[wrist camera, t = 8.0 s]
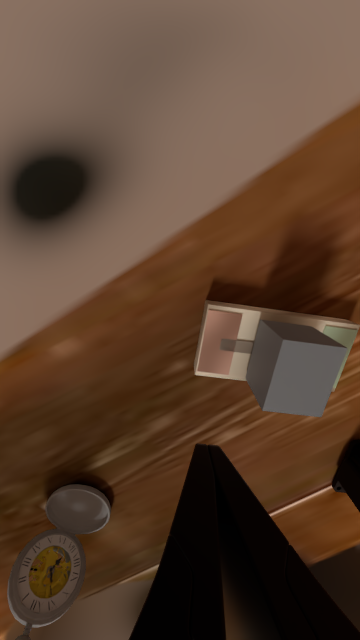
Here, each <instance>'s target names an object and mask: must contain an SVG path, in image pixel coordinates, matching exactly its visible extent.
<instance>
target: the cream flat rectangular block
mask: <svg viewBox="0 0 360 640" xmlns="http://www.w3.org/2000/svg"><path fill="white" fill-rule="evenodd" d="M260 319H261V320H269V321H276V322H283V323H291V324H298V325H306V326H312V327H314V328H315V329H317V330H319V331H320V332H322V333H324V334H325V335H327V336H328V337H330V338H332V339H333V340H335V341H337V342H338V343H340V344H342V345H343V346H345V347H347V348H348V349H347V352H346V354H345V357H344V359H343V362H342V365H341V367H340V370H339V372H338V375H337V378H336V380H335V383H334V385H333V388H332V391H335V388H336V386H337V383H338V381H339V378H340V375H341V373H342V370H343V368H344V365H345V363H346V360H347V357H348V355H349V352H350V350H351V347H352V345H353V342H354V340H355V337H356V334H357V332H358V329H359V327H360V325H358V324H356V323H354V322H351V321H349V320H347V319H339V318H332V317H325V316H318V315H311V314H303V313H296V312H289V311H282V310H275V309H267V308H260V307H253V306H246V305H239V304H231V303H224V302H217V301H210V300H206V302H205V307H204V313H203V318H202V324H201V329H200V335H199V340H198V346H197V351H196V357H195V362H194V370H195V375H201V376H209V377H218V378H226V379H234V380H243V381H247V380H246V378H245V377H246V373H247V369H248V365H249V361H250V358H251V354H252V350H253V346H254V342H255V338H256V334H257V330H258V326H259V322H260Z"/></svg>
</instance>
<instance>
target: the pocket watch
mask: <svg viewBox="0 0 360 640" xmlns="http://www.w3.org/2000/svg"><path fill="white" fill-rule="evenodd" d="M45 511H46V515H47V517H48V519H49V520H50V522H51V523H53V524H54V525H55V526H56V529H52V530H47V531H45V532H43V533H41V534H39V535H37V536H36V537H34V538H33V539H32V540H31V541H30V542H29V543H28V544H27V545H26V546H25V547H24V549H23V550H22V551H21V552H20V554H19V555H18V557H17V559H16V561H15V563H14V565H13V567H12V571H11V574H10V577H9V580H8V592H7V595H8V603H9V606H10V610H11V612H12V614H13V615H14V617H15V619H17V620H18V621H19V622H20V623H22V624H23V625H25V630H24V632H23V635H20V636H18V637H17V638H16V639H15V640H30V637H29V633H30V631H31V629H32V627H41V626H45V625H49V624H50V623H52V622H54V621H56V620H57V619H59V618H60V617H61V616H62V615H63V614H64V613H65V612H66V611H67V610H68V609H69V608H70V607H71V605H72V604H73V602H74V601H75V599H76V597H77V596H78V594H79V592H80V589H81V586H82V584H83V581H84V576H85V570H86V560H85V554H84V550H83V547H82V544H81V543H80V541H79V540H78V538H77V537H76V536H75V534H88V533H92V532H96V531H98V530H99V529H101V528H102V527H104V526H105V524H106V523H107V522H108V520H109V517H110V513H111V507H110V503H109V501H108V499H107V498H106V496H105V495H104V494H103V493H102V492H100V491H99V490H97V489H95V488H93V487H91V486H86V485H81V484H72V485H67V486H63V487H61V488H59V489H57V490H56V491H55V492H54V493H52V495H51V496H50V497H49V499H48V501H47V504H46V509H45ZM49 551H50V553H48V552H49ZM54 551H55V552H58V553H60V554H61V555H62V556H63V557H64V561H65V560H66V563H64V562H62V561H60V560H61V558H60V559H59V560H57V559H58V555H57V553H56V554H55V552H54ZM43 556H44V559H43V558H42V557H43ZM45 557H46V560H45ZM36 558H38V559H39V560H40V561H42V562H43V564H41V563H40V564H41V567H38V565H39V564H37V565H36V566H31V565H32V563H33V562H34V561H35V559H36ZM60 562H62V563H60ZM57 565H61V567H59V568H57V567H56V566H57ZM66 566H67V569H65V568H66ZM54 567H56V569H54ZM61 568H63V569H61ZM30 570H34V571H37V572H35V573H30V572H29V571H30ZM66 571H67V572H66ZM64 573H65V574H64ZM31 575H33V576H34V575H35V576H34V577H33V579H34V578H37V579H36V581H30V582H29V577H30V576H31ZM37 575H38V576H37Z"/></svg>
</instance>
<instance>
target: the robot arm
mask: <svg viewBox="0 0 360 640" xmlns="http://www.w3.org/2000/svg"><path fill="white" fill-rule="evenodd" d="M332 487H333V489H334V490H335V491H336V492H344V493H347V494H348V496H349V497H350V499H351V500H352V502H353V503H354V505H355V506H356V507H357V509H358V510H359V512H360V440H353V441H352V442H351V443H350V445H349V448H348V450H347V452H346V454H345V457H344V459H343V461H342V463H341V465H340V468H339V470H338V472H337V474H336V477H335V479H334V481H333V483H332ZM129 640H360V632H359V631H358V630H357V628H356V627H355V626H354V625H353V624H352V622H351V621H350V620H349V619H348V618H347V616H346V615H345V614H344V613H343V612H342V611H341V609H340V608H339V607H338V606H337V604H336V603H335V602H334V601H333V599H332V598H331V597H330V596H329V594H328V593H327V592H326V591H325V589H324V588H323V587H322V586H321V584H320V583H319V582H318V581H317V579H316V578H315V577H314V575H313V574H312V573H311V571H310V570H309V569H308V567H307V566H306V565H305V563H304V562H303V561H302V559H301V558H300V557H299V555H298V554H297V553H296V551H295V550H294V548H293V547H292V546H291V545H289V542H288V540H287V539H286V538H285V536H284V535H283V533H282V532H281V531H280V529H279V528H278V526H277V525H276V524H275V522H274V521H273V520H272V518H271V517H270V515H269V514H268V513H267V511H266V510H265V509H264V507H263V506H262V504H261V503H260V502H259V500H258V499H257V497H256V496H255V495H254V493H253V492H252V491H251V489H250V488H249V486H248V485H247V484H246V482H245V481H244V480H243V478H242V477H241V475H240V474H239V473H238V471H237V470H236V469H235V467H234V466H233V464H232V463H231V462H230V460H229V459H228V457H227V456H226V455H225V453H224V452H223V451H222V449H221V448H220V447H219V446H217V445H208V446H207V445H206V444H198V443H197V444H196V445H195V449H194V452H193V455H192V459H191V462H190V466H189V469H188V472H187V476H186V479H185V482H184V486H183V489H182V492H181V496H180V499H179V503H178V506H177V509H176V513H175V516H174V519H173V523H172V526H171V529H170V533H169V536H168V539H167V542H166V546H165V549H164V552H163V555H162V558H161V561H160V564H159V567H158V570H157V573H156V576H155V578H154V581H153V583H152V586H151V588H150V591H149V593H148V596H147V598H146V601H145V603H144V605H143V608H142V610H141V612H140V615H139V617H138V619H137V622H136V624H135V626H134V629H133V631H132V633H131V636H130V638H129Z"/></svg>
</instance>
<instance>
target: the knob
mask: <svg viewBox="0 0 360 640" xmlns="http://www.w3.org/2000/svg"><path fill="white" fill-rule="evenodd" d="M347 349H348V348H347V347H345V346H343V345H342V344H340V343H338V342H337V341H335V340H333V339H332V338H330V337H328V336H327V335H325V334H324V333H322V332H320V331H319V330H317V329H315V328H314V327H312V326H306V325H298V324H291V323H283V322H276V321H269V320H261V319H260V322H259V326H258V330H257V334H256V338H255V342H254V346H253V350H252V354H251V358H250V361H249V365H248V369H247V373H246V377H245V378H246V380H247V382H248V384H249V386H250V388H251V390H252V392H253V393H254V395H255V397H256V399H257V401H258V403H259V405H260V407H261V409H262V411H271V412H280V413H289V414H297V415H306V416H315V417H322V414H323V411H324V409H325V406H326V404H327V401H328V398H329V396H330V393H331V391H332V388H333V385H334V383H335V380H336V378H337V375H338V372H339V370H340V367H341V365H342V362H343V359H344V357H345V354H346V352H347Z"/></svg>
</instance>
